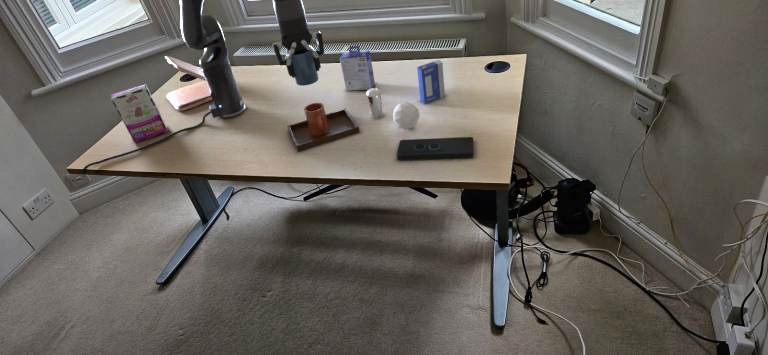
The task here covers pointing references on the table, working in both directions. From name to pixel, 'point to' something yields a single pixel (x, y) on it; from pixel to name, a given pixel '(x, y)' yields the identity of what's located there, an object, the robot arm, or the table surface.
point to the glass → (304, 68)
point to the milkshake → (375, 101)
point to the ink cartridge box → (357, 70)
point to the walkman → (431, 81)
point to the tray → (338, 129)
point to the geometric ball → (406, 115)
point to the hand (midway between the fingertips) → (305, 73)
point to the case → (189, 87)
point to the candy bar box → (139, 113)
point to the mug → (316, 119)
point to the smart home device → (435, 148)
